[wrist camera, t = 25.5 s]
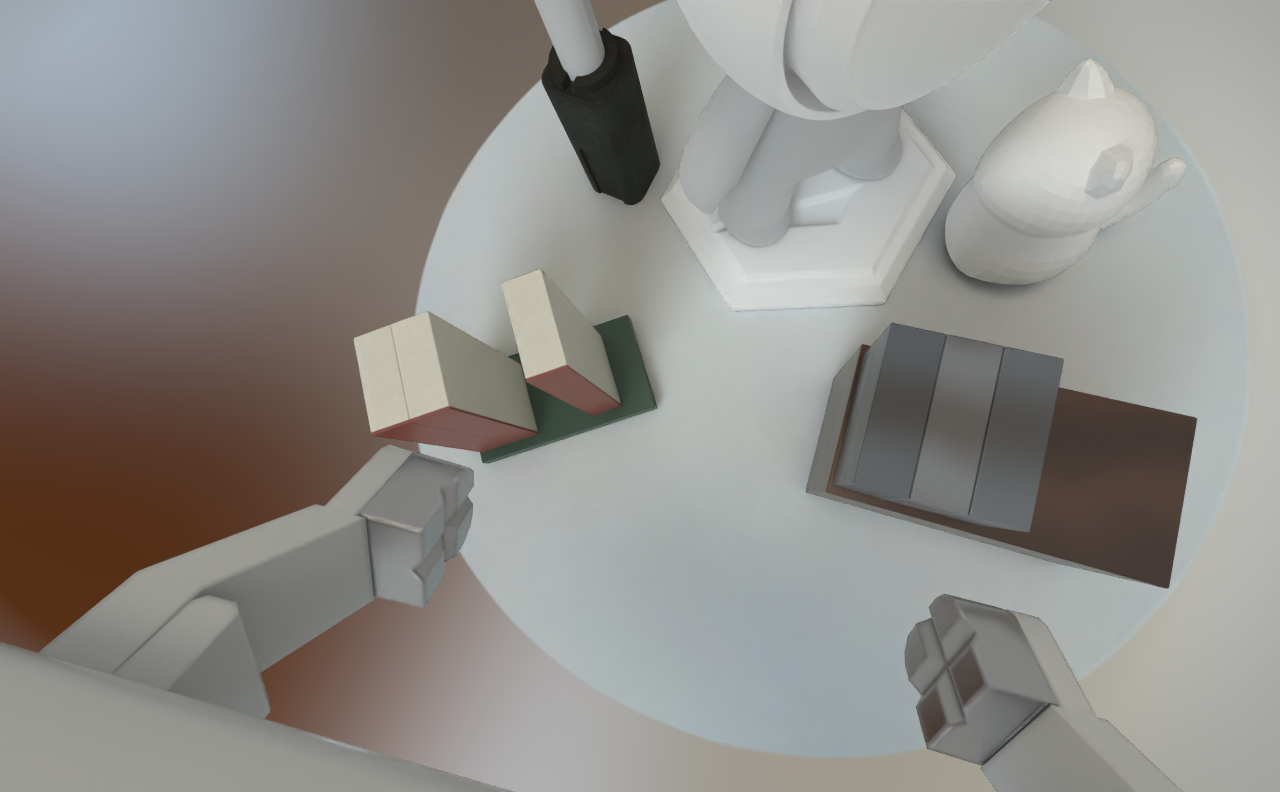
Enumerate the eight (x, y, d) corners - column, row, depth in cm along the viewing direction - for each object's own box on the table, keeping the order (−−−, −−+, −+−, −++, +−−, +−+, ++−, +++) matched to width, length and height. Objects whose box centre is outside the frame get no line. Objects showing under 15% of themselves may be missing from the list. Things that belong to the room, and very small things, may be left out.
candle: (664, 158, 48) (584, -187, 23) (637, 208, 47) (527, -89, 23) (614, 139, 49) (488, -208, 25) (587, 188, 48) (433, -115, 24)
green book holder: (657, 408, 44) (616, 367, 29) (487, 463, 46) (369, 451, 31) (629, 318, 46) (577, 237, 31) (467, 375, 47) (346, 324, 33)
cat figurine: (912, 201, 43) (999, 53, 29) (1087, 169, 41) (1277, -7, 27) (935, 308, 41) (1041, 210, 27) (1120, 281, 39) (1341, 158, 25)
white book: (622, 406, 44) (568, 367, 30) (592, 415, 44) (526, 382, 30) (601, 335, 45) (540, 268, 31) (572, 345, 45) (500, 282, 32)
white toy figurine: (769, 371, 43) (880, -83, 9) (629, 153, 48) (366, -649, 14) (1000, 236, 41) (2170, -907, 8) (829, 27, 47) (1066, -1192, 13)
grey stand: (1058, 563, 37) (1284, 615, 22) (805, 492, 41) (845, 493, 25) (1082, 436, 38) (1315, 399, 23) (833, 377, 42) (888, 311, 26)
